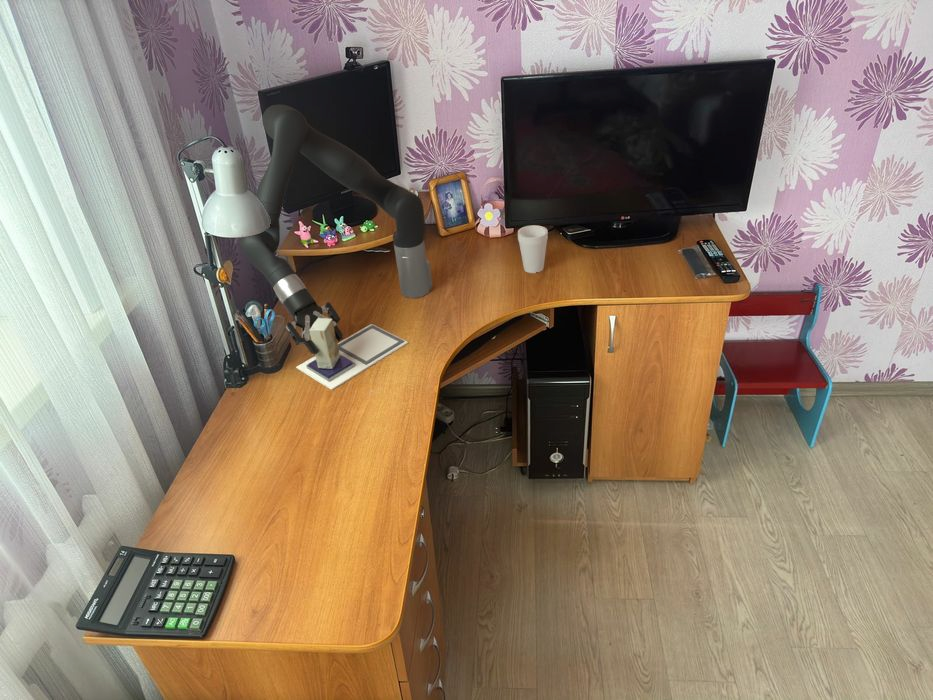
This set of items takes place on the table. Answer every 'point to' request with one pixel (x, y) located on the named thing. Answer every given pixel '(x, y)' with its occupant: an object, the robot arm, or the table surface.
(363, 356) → the marked board
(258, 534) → the table surface
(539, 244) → the foam cup
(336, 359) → the skincare box
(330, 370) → the ink pad
